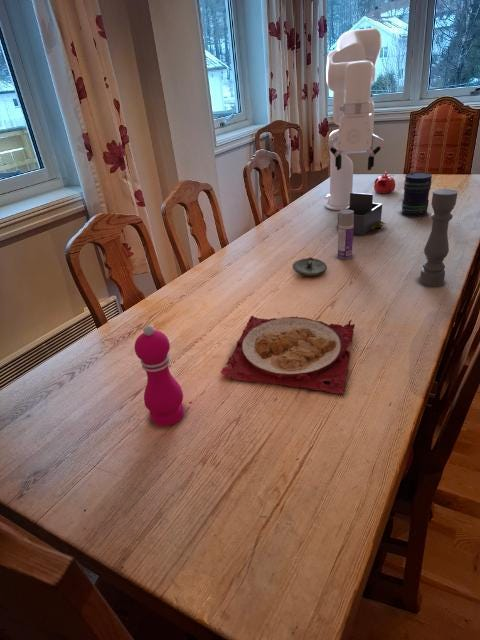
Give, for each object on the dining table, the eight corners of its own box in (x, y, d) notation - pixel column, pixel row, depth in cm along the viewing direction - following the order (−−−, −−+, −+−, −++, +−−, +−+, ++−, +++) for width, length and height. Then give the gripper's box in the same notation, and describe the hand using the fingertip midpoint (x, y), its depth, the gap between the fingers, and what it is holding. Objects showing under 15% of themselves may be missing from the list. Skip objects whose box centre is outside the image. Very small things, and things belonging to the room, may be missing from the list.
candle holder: (442, 277, 122) (457, 188, 109) (444, 287, 117) (459, 195, 104) (419, 276, 124) (431, 188, 111) (419, 285, 119) (432, 195, 106)
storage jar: (432, 212, 172) (437, 174, 164) (416, 218, 167) (421, 179, 160) (411, 208, 179) (415, 171, 172) (395, 213, 175) (399, 176, 167)
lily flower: (383, 220, 168) (384, 208, 166) (389, 230, 158) (391, 218, 156) (352, 221, 170) (353, 210, 168) (356, 232, 160) (357, 220, 157)
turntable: (329, 228, 166) (329, 227, 166) (357, 218, 173) (357, 217, 173) (362, 238, 154) (362, 237, 154) (390, 226, 162) (390, 225, 162)
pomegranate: (386, 188, 210) (388, 168, 205) (399, 192, 201) (401, 171, 197) (368, 191, 207) (370, 171, 203) (381, 195, 199) (382, 175, 194)
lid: (305, 266, 140) (301, 252, 138) (332, 264, 134) (329, 249, 132) (289, 280, 133) (285, 266, 131) (317, 279, 127) (313, 263, 125)
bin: (356, 218, 172) (358, 187, 166) (380, 221, 166) (383, 189, 160) (337, 231, 161) (338, 198, 155) (362, 235, 155) (365, 200, 149)
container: (351, 253, 143) (353, 209, 135) (353, 259, 139) (355, 213, 131) (336, 254, 143) (338, 209, 136) (338, 259, 139) (339, 214, 132)
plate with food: (251, 322, 110) (250, 310, 108) (354, 329, 102) (355, 316, 100) (219, 380, 91) (217, 367, 89) (343, 394, 83) (343, 380, 81)
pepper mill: (150, 404, 85) (129, 318, 75) (186, 400, 85) (170, 313, 75) (146, 430, 79) (123, 340, 69) (186, 425, 79) (167, 334, 69)
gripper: (325, 112, 128) (324, 171, 137) (385, 109, 121) (380, 172, 130) (331, 110, 134) (330, 166, 143) (389, 106, 127) (384, 166, 136)
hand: (354, 169), depth 136 cm, fingers open, 9 cm apart
